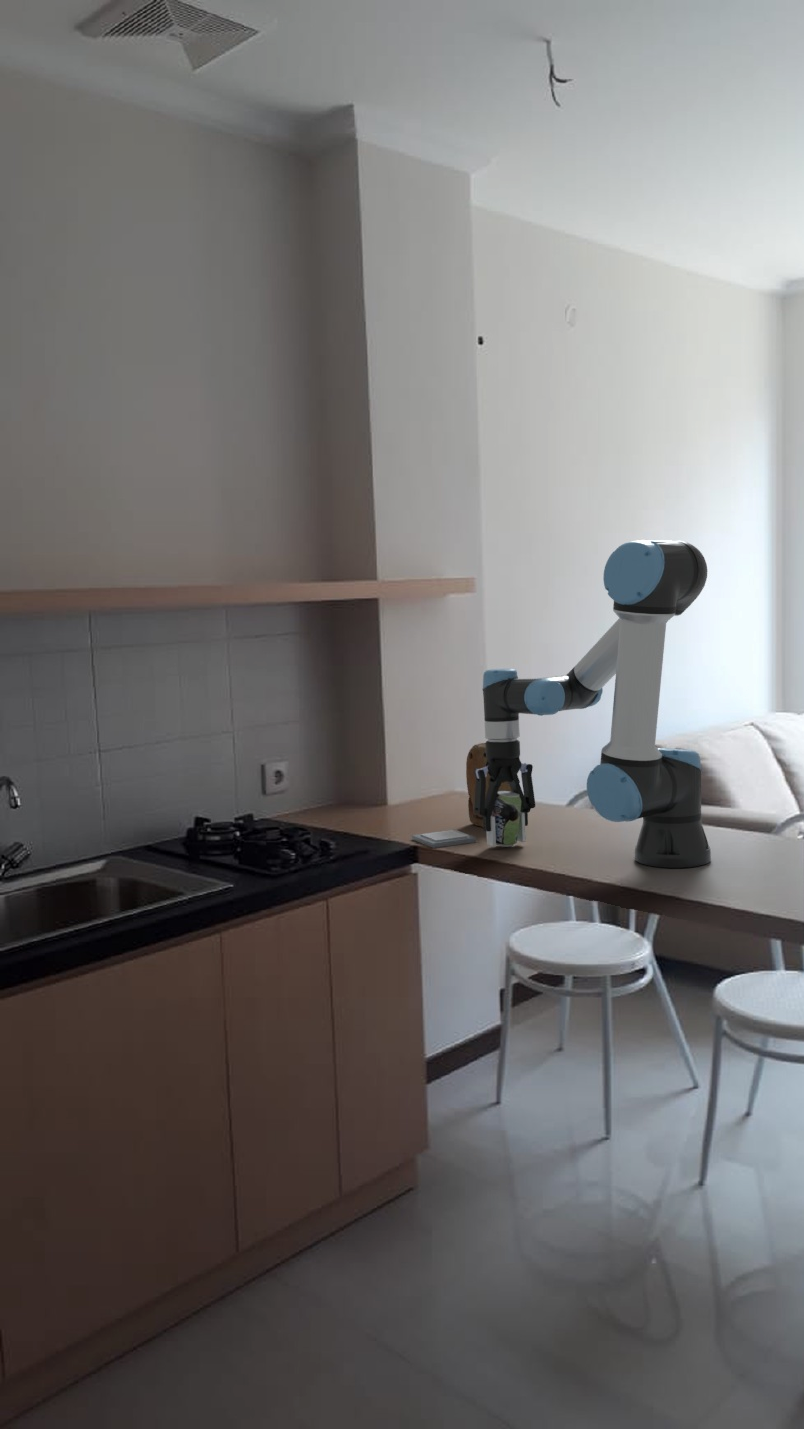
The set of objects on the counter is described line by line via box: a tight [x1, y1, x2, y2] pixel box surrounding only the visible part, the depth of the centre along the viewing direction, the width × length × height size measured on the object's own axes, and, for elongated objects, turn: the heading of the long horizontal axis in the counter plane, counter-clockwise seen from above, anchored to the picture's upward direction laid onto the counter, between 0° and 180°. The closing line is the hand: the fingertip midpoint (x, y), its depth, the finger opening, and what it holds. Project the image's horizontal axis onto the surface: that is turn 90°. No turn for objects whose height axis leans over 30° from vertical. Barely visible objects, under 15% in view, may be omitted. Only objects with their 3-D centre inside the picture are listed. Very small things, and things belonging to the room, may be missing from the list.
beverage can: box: [492, 791, 521, 848], centre depth 249 cm, size 6×7×12 cm
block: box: [465, 742, 512, 828], centre depth 273 cm, size 11×8×20 cm
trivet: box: [411, 829, 478, 849], centre depth 259 cm, size 11×11×1 cm
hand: (506, 843), depth 249 cm, fingers closed on beverage can, 7 cm apart
